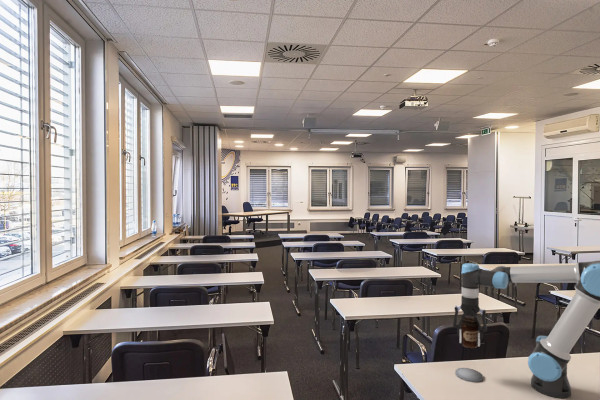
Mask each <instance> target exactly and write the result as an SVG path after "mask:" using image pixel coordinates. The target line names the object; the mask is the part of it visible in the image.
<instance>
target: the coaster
mask: <svg viewBox="0 0 600 400" xmlns="http://www.w3.org/2000/svg"><path fill="white" fill-rule="evenodd" d="M454 372H455V373H454V374H455V376H456V377H457V378H459V379H460V380H462V381H466V382H470V383H480V382H482V381H483V380H484V376H483V374H482V373H481V372H480V371H478V370H476V369H472V368H469V367H458V368H457V369H455V371H454Z"/></svg>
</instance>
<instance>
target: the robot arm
mask: <svg viewBox="0 0 600 400" xmlns="http://www.w3.org/2000/svg"><path fill="white" fill-rule="evenodd" d="M460 273H461V303H460V305H458V306H457V305H455V306H454V317H453V318H454V319H453V325H452V326H453V328H456V335H457V336H459V344H462V343H463V342H462V329H461V325H462V324H461V321H462V320H463V319H464V318H465V317H472V318H474V319H475V321H478V322H477V323H478V325H479V326H478V338H477V347H480V346H481V340H483V338H484V337H483V336H484V335H483V334H484V333H487V332H488V326H487V321H486V313H487V310H486V309H482V308H480V302H479V300H480V298H479V295H480V286H481V287H488V288H494V289H503V290H505V289H507V288H508V285H509V284H511V283H512V284H514V283H516V284H517V283H518V284H519V283H520V284H521V283H523V284H524V283H529V284H530V283H533V284H535V283H545V284H547V283H548V284H551V283H552V284H553V283H554V284H556V283H557V284H559V283H560V284H561V283H562V284H565V283H566V284H567V283H573V284H574V283H575V284H574V289H575V293H574V295H573V296H572V298H571V300H570V301H569V303H568V304H567V306H566V307H565V309H564V311H563V312H562V313H561V316H560V317H559V318H558V320H557V322H556V323H555V325H554V326H553V328H552V329H551V331H550V333H549V335H538V336H536V339H535V342H536V346H535V348H534V349H533V351H532V352H531V353H530V355H529V356H528V358H527V359H528V360H527V365H528V368H529V370H530V372H531V373H532V376H531V378H530V386H531V388H533V389H534V390H535V391H537V392H538V393H541V394H543V395H546V396H549V397H552V398H556V399H567V398H570V397H572V387H571V384H570V381H569V378H568V364H569V363H570V361H571V359H572V357H571V354H570V352H571V350H572V349H573V348H574V347H575V345H576V343H577V342H578V340H579V338H580V337H581V336H582V334H583V332H584V331H585V330H586V328H587V327H588V325H589V324H590V322H591V321H592V319H593V318H594V316H595V315H596V313H597V312H598V310H599V309H600V260H592V261H578V262H577V263H575V264H565V265H564V264H563V265H562V264H561V265H560V264H558V265H527V266H505V265H500V266H497V267H496V266H495V267H494V268H493V269H491V270H490V269H481V268H480V266H479V264H476V263H470V262H469V263H468V262H467V263H466V262H465V263H463V264H462V265H461V272H460ZM460 310H461V311H462V315H461V317H460V320H459V322H458V315H459V312H460ZM479 312H480V315H481V319H482V325H481V322H480V320H479V317H478V314H479ZM457 322H458V324H457ZM482 326H483V327H482Z"/></svg>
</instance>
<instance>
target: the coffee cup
mask: <svg viewBox="0 0 600 400" xmlns="http://www.w3.org/2000/svg"><path fill="white" fill-rule="evenodd" d="M477 322H478V321H475V319H474V317H473V316H465V318H464V319H463V320H462V321H461V324H462V325H461V327H460V328H461V329H462V342H461V343H462V346H463V347H464V348H469V349H476V348H477V347H478V331H479V329H478V326H479V325H478V323H477Z"/></svg>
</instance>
